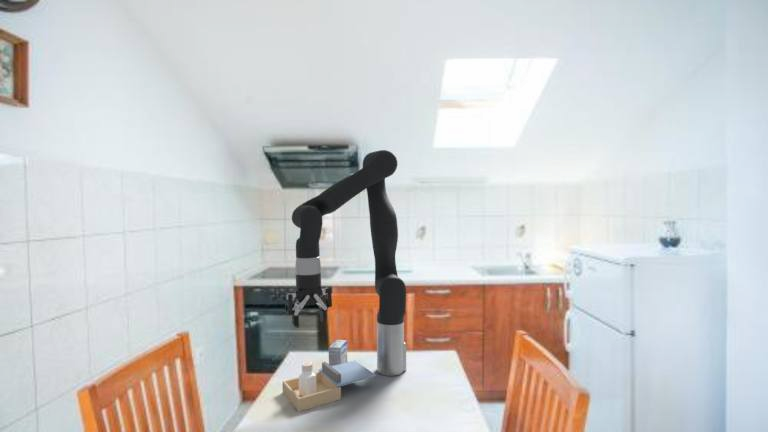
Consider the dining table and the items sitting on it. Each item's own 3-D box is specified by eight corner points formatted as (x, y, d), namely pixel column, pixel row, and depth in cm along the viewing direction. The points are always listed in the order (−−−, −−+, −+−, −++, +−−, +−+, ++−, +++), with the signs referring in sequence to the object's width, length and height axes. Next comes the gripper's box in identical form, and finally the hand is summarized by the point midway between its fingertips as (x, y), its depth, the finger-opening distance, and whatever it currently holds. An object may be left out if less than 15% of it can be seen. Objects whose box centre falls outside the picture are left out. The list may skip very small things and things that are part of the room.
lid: (354, 362, 140) (354, 353, 139) (375, 376, 128) (375, 366, 128) (318, 371, 132) (318, 361, 132) (337, 387, 121) (337, 376, 121)
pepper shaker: (308, 390, 126) (308, 359, 126) (317, 394, 124) (316, 363, 123) (298, 395, 123) (297, 364, 123) (306, 399, 121) (306, 367, 120)
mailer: (322, 382, 133) (322, 371, 133) (341, 398, 122) (340, 387, 122) (282, 392, 126) (282, 381, 126) (298, 411, 115) (298, 399, 115)
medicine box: (341, 373, 140) (340, 348, 140) (328, 371, 141) (328, 347, 141) (347, 363, 148) (347, 340, 148) (335, 362, 149) (335, 339, 148)
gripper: (324, 267, 132) (325, 317, 133) (281, 272, 124) (282, 325, 125) (335, 270, 126) (336, 323, 126) (290, 276, 118) (292, 332, 118)
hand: (309, 324), depth 125 cm, fingers open, 8 cm apart
